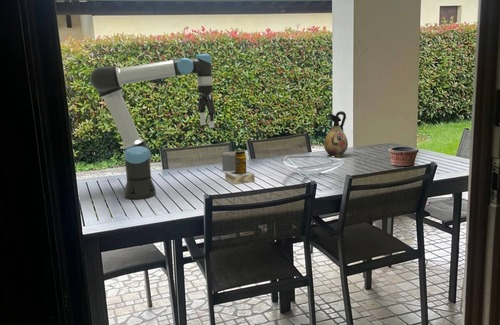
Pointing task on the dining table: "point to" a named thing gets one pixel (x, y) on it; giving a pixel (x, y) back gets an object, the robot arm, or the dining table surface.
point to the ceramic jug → (336, 137)
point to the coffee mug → (228, 161)
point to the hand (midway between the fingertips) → (207, 126)
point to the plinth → (239, 177)
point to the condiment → (240, 163)
